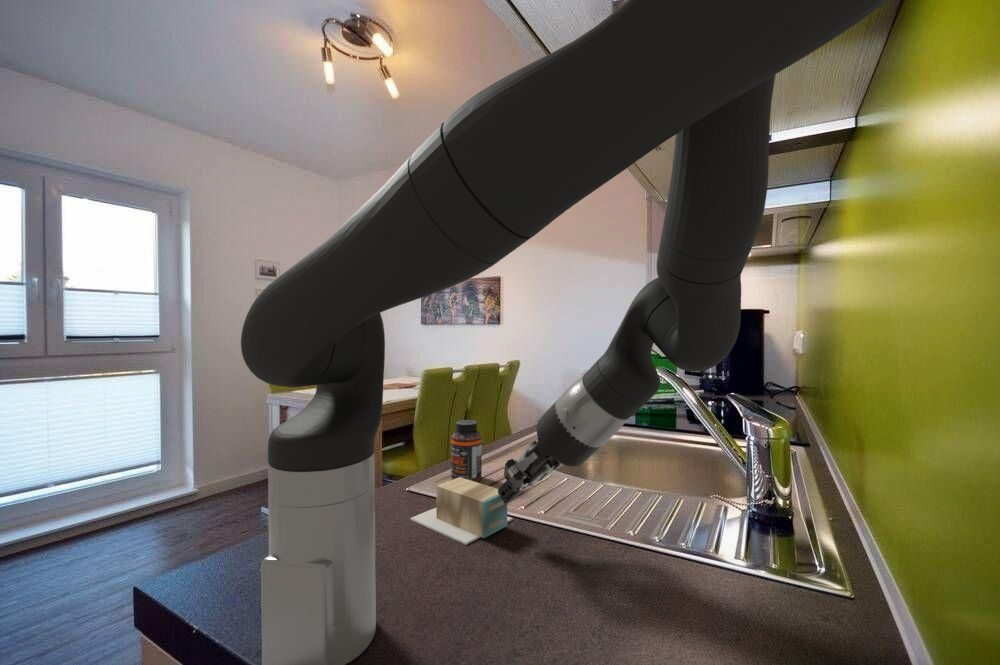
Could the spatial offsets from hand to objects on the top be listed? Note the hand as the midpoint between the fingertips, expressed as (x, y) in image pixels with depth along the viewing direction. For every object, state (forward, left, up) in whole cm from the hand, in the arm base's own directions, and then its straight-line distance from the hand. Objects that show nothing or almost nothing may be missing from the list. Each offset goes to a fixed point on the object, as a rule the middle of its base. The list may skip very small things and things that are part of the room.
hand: (504, 495), depth 60 cm
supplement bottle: (+22, +11, -6) cm, 25 cm away
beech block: (+1, +1, -3) cm, 3 cm away
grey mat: (+5, +8, -6) cm, 11 cm away
